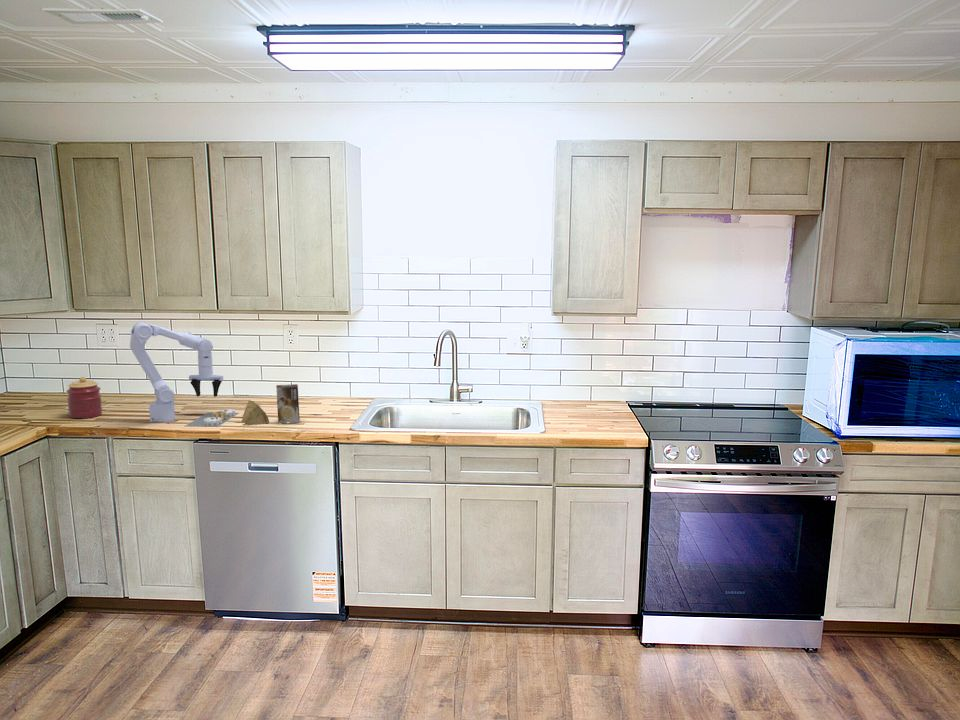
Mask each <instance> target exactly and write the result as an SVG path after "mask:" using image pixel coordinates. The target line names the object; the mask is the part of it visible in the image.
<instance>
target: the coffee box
mask: <svg viewBox="0 0 960 720" xmlns="http://www.w3.org/2000/svg"><path fill="white" fill-rule="evenodd" d="M275 387H276V403H277V405H276V406H277V421H278V422H277V424H278V423H286V424H288V423H287V422H301V420H300V403H299V402H300V401H299V385H298V384H295V383H294V384H276V386H275Z"/></svg>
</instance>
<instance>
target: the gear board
mask: <svg viewBox="0 0 960 720" xmlns="http://www.w3.org/2000/svg"><path fill="white" fill-rule="evenodd" d="M217 411H218V412H220V411H223V412H226V416H227V419H226V420H224V421H222V418H220V417H213V412H214V411H211V412H207V413H206V412H205V414H203V415H202V416H200V417H198V418H196V419H194V420H193V421H191V422H189V423H187V424H186V425H185V427H191V428H193V427H196V428H197V427H201V428H203V427H204V428H218V427H220V426H222V425H223V424H225V423H226V422H228V421H229V420H231V419H232V418H234V417H235V416H237V415H239V412H236V411H235V409H232V408H229V409H228V408H225V409H220V410H217Z"/></svg>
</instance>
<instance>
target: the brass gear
mask: <svg viewBox="0 0 960 720" xmlns="http://www.w3.org/2000/svg"><path fill="white" fill-rule="evenodd" d="M218 411H220V410H217V411H212V412H213V417H220V418H222V421H224V420H226V419H227V416H226V412H223V411H220V412H218Z"/></svg>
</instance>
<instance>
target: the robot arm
mask: <svg viewBox="0 0 960 720" xmlns="http://www.w3.org/2000/svg"><path fill="white" fill-rule="evenodd" d="M152 336H153V337H157V336H162V337H165V338H169V339H171V340H176V341H178V343H179V345H181V346H183V347H186V348H190V349H193V350H197V364H198V374H191V375H188V380H189V381H190V384H191V386H192V387H193V389H194V392H195V394H196V395H195V396H196V397H200V396H201V381H211V384H212V388H213V389H212V390H213V397H214V398H216V397H218V393H219V389H220V386H221V384H222V382H223V381H224V375H220V374H219V375H217V374H213V373H214V372H213V369H214V368H213V356H212V351H213V349H214V346H213V343H212V342H211V341H210V340H209V339H207V338H204V337H203V336H201V335H200V336H198V335H194V334H192V332H191V331H188V332H187V331H186V332H183V333H179V332H177V331H174V330H172V329H168V328H166V327H163V326H160V325H157V324H154V323H147V322H145V321H138V322H136V323H135V324H134V325H133V326H132V328H131V330H130V338H129V339H130V340H129V341H130V342H129V348H130V350H131V351H132V354H133V355H134V357H135V359H136V360H137V362H138V363H139V365H140V367H141V368H142V370H143V372H144V373H145V375H146V376H147V378H148V381H150V384H151V386H152V387H153V389H154V395H155V396H156V399H155V401H152V402H151V403H150V404H149V407H148V409H149V410H148V411H149V423H152V422H157V423H158V422H159V423H165V422H166V423H167V422H172V421H175V420H176V413H175V412H176V411H175V399H174V398H175V392H174V391H173V389H171V388H170V387H169V386H168V385H167V383H166V382H165V381H164V379H163V377H162V376H161V374H160V373H159V371H158V369H157V368H156V366H155V364H154V362H153V361H152V359H151V357H150V355H149V354H148V352H147V351H146V349H145V345H146V343H147V341H148V340H149V339H150V338H151V337H152Z"/></svg>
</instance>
